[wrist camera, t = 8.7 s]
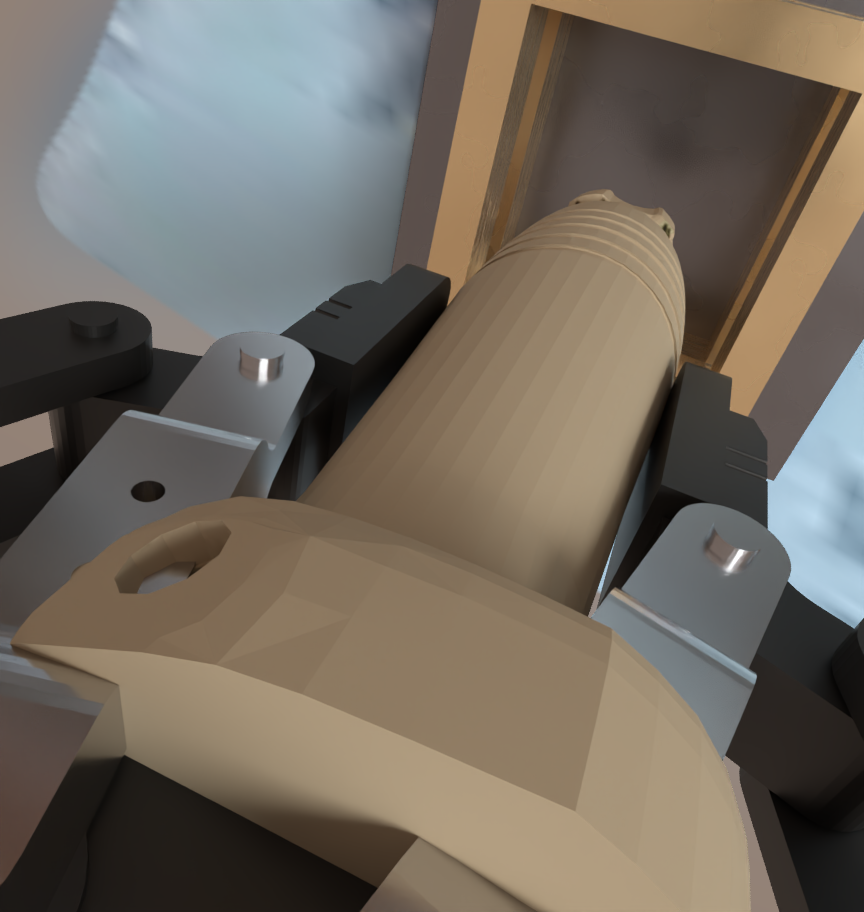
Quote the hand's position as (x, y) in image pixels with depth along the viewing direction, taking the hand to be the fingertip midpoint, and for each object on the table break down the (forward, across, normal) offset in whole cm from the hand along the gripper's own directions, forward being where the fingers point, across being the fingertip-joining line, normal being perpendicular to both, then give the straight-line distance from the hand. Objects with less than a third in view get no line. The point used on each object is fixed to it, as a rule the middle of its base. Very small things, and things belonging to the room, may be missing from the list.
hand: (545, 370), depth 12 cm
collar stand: (+15, 0, 0) cm, 15 cm away
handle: (+6, 0, 0) cm, 6 cm away
